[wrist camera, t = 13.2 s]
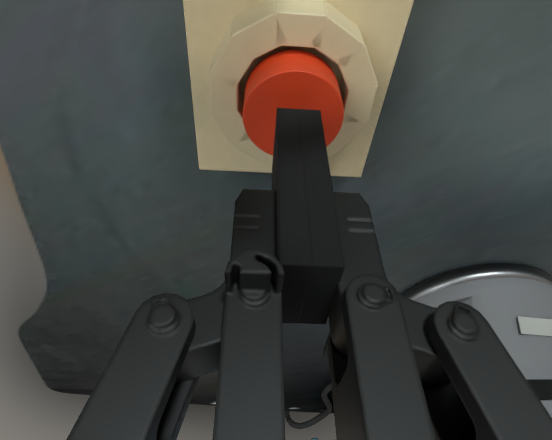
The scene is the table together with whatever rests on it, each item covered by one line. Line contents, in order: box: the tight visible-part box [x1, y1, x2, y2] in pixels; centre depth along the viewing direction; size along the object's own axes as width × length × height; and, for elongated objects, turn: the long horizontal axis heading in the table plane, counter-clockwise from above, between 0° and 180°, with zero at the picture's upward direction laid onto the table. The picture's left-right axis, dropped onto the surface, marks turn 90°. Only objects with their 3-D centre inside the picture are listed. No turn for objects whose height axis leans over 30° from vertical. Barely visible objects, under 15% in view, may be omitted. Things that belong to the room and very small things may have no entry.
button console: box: [183, 0, 414, 177], centre depth 18 cm, size 11×9×4 cm
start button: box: [243, 50, 344, 156], centre depth 16 cm, size 4×4×2 cm
